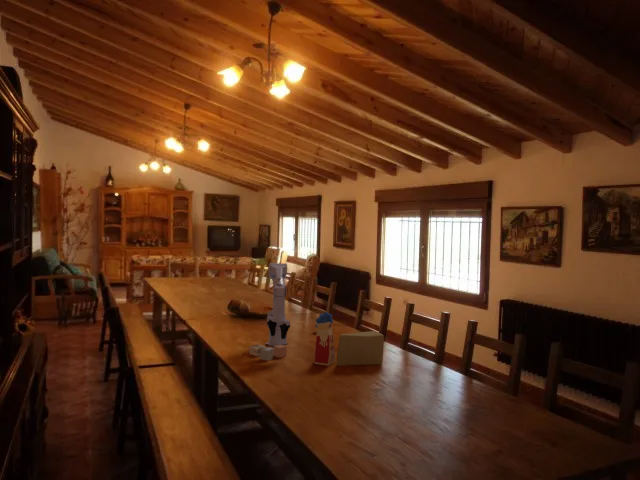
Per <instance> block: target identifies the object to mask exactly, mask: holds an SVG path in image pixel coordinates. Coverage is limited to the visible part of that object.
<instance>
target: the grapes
mask: <svg viewBox="0 0 640 480" xmlns="http://www.w3.org/2000/svg"><path fill="white" fill-rule="evenodd" d="M327 322H330V325H331V326H332V324H333V322H334V319H333V314H332V313H329V312H328V311H325V312H324V313H321V312H320V314H319V316H318V317H317V318H316V319H315V324H314V327H315V328H316V329H317V325H316V324H323V323H327Z"/></svg>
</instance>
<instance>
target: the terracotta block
mask: <svg viewBox="0 0 640 480" xmlns="http://www.w3.org/2000/svg"><path fill="white" fill-rule="evenodd" d="M273 348H274V352H273V357H276V358H279V359H281V358H282V359H283V358H284V357H287V346H286V345H277V346H273Z"/></svg>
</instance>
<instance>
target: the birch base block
mask: <svg viewBox="0 0 640 480" xmlns="http://www.w3.org/2000/svg"><path fill="white" fill-rule="evenodd" d="M265 347H267V346H265V345H262V344H259V343H258V344H253V345H250V346H248V348H249V349H248V354H249V355H252V356H255V357H260V349H262V348H265Z"/></svg>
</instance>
